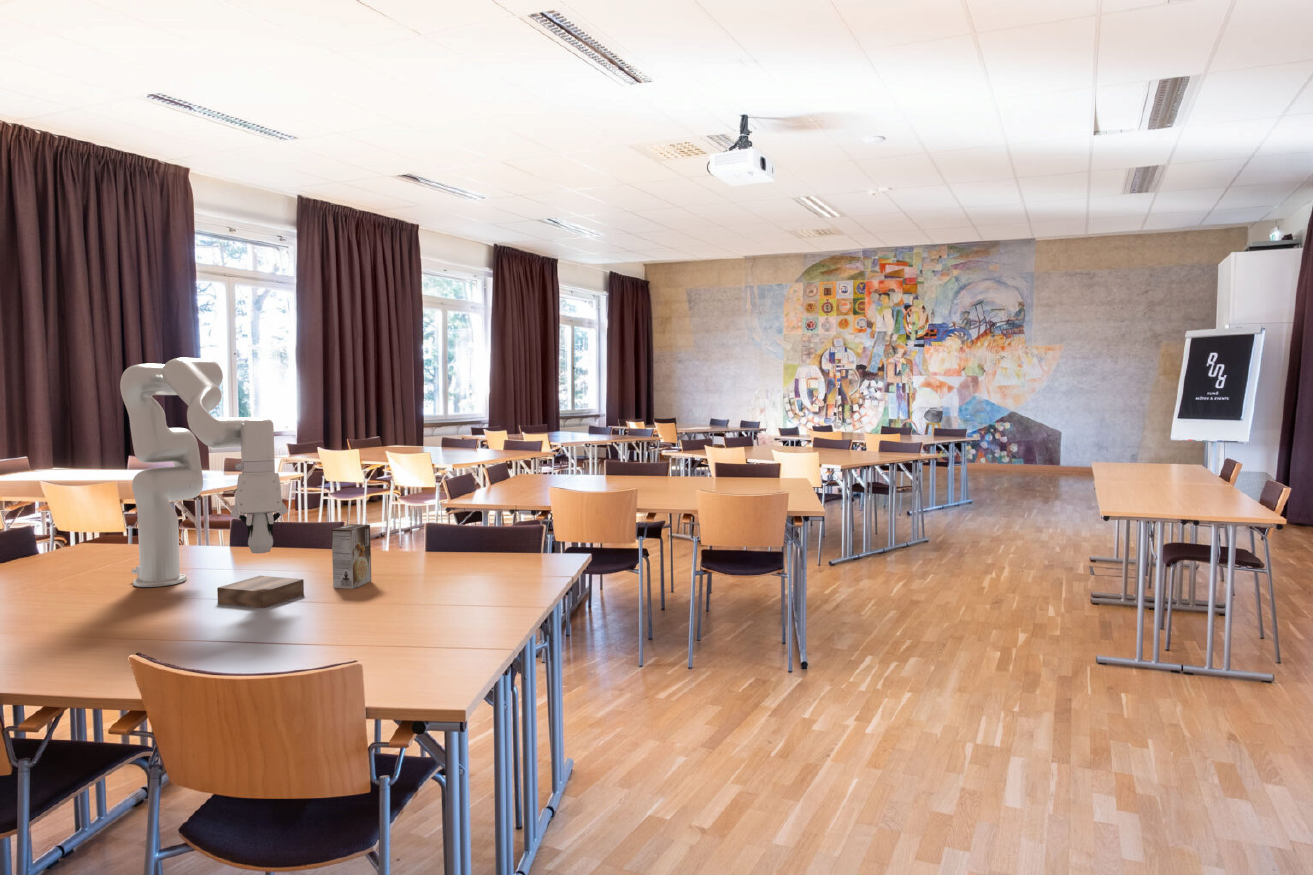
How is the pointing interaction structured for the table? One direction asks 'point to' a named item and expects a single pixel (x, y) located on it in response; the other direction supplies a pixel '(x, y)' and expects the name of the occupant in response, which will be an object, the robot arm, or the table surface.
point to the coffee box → (351, 556)
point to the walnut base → (260, 591)
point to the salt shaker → (260, 534)
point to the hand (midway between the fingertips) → (260, 539)
